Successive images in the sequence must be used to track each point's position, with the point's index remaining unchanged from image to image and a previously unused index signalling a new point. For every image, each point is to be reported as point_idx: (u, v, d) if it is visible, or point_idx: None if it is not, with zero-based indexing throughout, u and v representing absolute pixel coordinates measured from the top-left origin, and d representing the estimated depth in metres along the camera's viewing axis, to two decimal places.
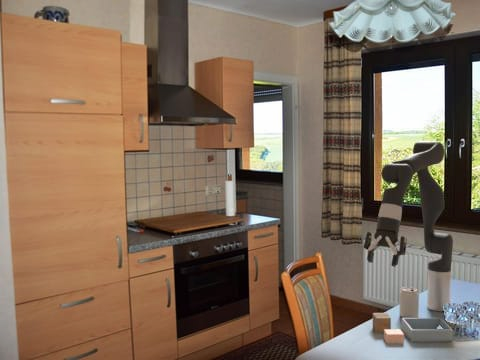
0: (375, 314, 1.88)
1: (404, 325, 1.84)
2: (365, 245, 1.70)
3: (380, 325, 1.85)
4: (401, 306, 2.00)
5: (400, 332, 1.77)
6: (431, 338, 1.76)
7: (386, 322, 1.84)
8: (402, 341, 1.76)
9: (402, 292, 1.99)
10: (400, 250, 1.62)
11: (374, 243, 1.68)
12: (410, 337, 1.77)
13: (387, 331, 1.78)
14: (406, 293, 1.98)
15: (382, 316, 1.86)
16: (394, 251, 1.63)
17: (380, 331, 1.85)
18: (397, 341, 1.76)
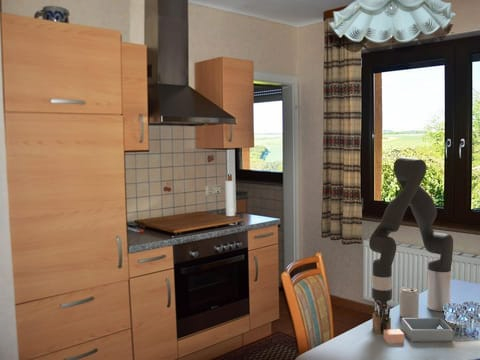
0: (375, 314, 1.88)
1: (404, 325, 1.84)
2: None
3: (380, 325, 1.85)
4: (401, 306, 2.00)
5: (400, 332, 1.77)
6: (431, 338, 1.76)
7: None
8: (402, 341, 1.76)
9: (402, 292, 1.99)
10: (381, 320, 1.82)
11: (375, 309, 1.89)
12: (410, 337, 1.77)
13: (387, 331, 1.78)
14: (406, 293, 1.98)
15: None
16: (380, 319, 1.84)
17: (380, 331, 1.85)
18: (398, 341, 1.76)
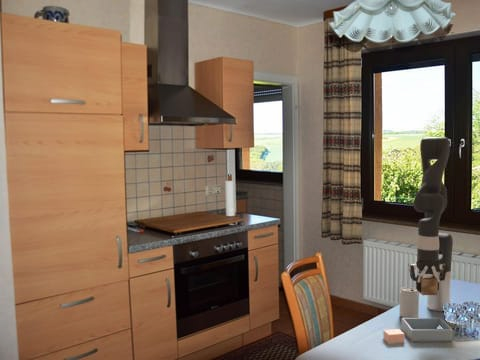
0: (426, 278, 1.78)
1: (404, 325, 1.84)
2: (414, 278, 1.79)
3: None
4: (401, 306, 2.00)
5: (400, 332, 1.77)
6: (431, 338, 1.76)
7: None
8: (403, 340, 1.76)
9: (402, 292, 1.99)
10: (442, 277, 1.79)
11: (422, 274, 1.78)
12: (410, 337, 1.77)
13: (387, 331, 1.78)
14: (406, 293, 1.98)
15: (429, 277, 1.80)
16: None
17: None
18: (398, 341, 1.76)
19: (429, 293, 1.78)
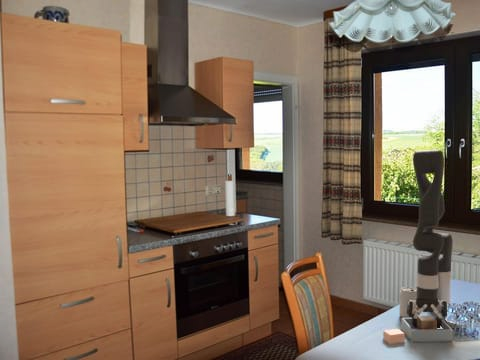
0: (425, 320, 1.80)
1: (404, 325, 1.84)
2: (410, 314, 1.80)
3: None
4: (401, 306, 2.00)
5: (400, 332, 1.77)
6: (431, 338, 1.76)
7: None
8: (403, 340, 1.76)
9: (402, 292, 1.99)
10: (445, 314, 1.80)
11: (420, 311, 1.80)
12: (410, 337, 1.77)
13: (388, 332, 1.78)
14: (406, 293, 1.98)
15: (428, 318, 1.82)
16: (439, 315, 1.80)
17: None
18: (398, 341, 1.76)
19: None
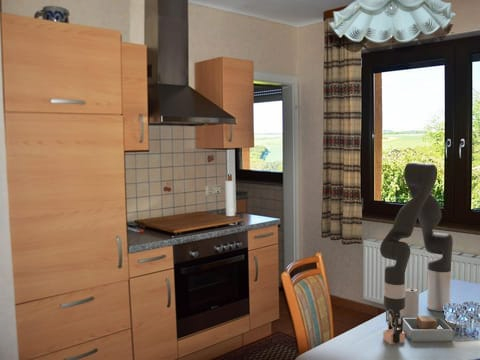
0: (425, 320, 1.80)
1: (404, 325, 1.84)
2: (386, 319, 1.83)
3: None
4: None
5: None
6: (431, 338, 1.76)
7: None
8: (403, 339, 1.77)
9: None
10: (394, 330, 1.72)
11: (387, 318, 1.80)
12: (410, 337, 1.77)
13: (388, 331, 1.77)
14: (406, 293, 1.98)
15: (428, 318, 1.82)
16: (393, 329, 1.74)
17: None
18: None
19: None
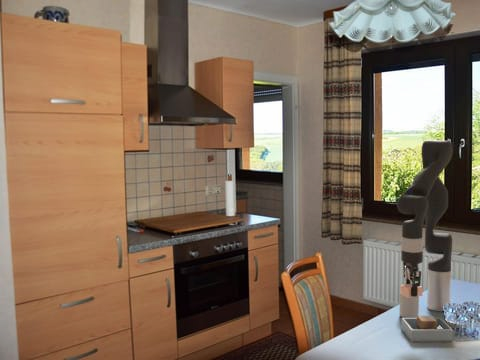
0: (425, 320, 1.80)
1: (404, 325, 1.84)
2: (404, 274, 1.84)
3: None
4: (401, 306, 2.00)
5: None
6: (431, 338, 1.76)
7: None
8: (421, 293, 1.78)
9: None
10: (412, 283, 1.74)
11: (405, 273, 1.81)
12: (410, 337, 1.77)
13: (405, 286, 1.79)
14: None
15: (428, 318, 1.82)
16: (410, 283, 1.76)
17: None
18: None
19: None
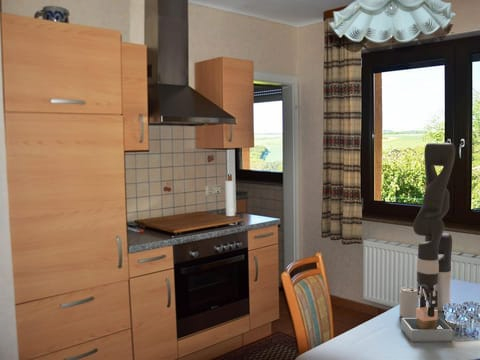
0: None
1: (404, 325, 1.84)
2: (417, 292, 1.87)
3: None
4: (401, 306, 2.00)
5: None
6: (431, 338, 1.76)
7: None
8: (436, 317, 1.80)
9: (402, 292, 1.99)
10: (429, 303, 1.75)
11: (419, 292, 1.84)
12: (410, 337, 1.77)
13: (421, 309, 1.81)
14: (406, 293, 1.98)
15: None
16: (427, 303, 1.77)
17: None
18: (432, 318, 1.79)
19: None
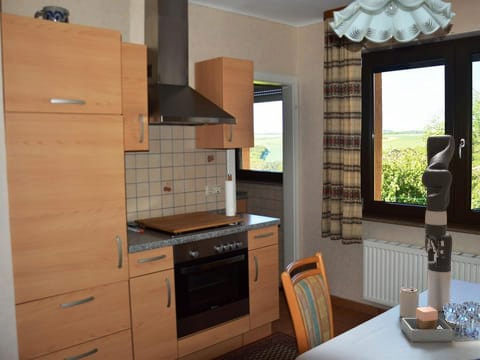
0: None
1: (404, 325, 1.84)
2: (425, 246, 1.91)
3: None
4: (401, 306, 2.00)
5: (433, 309, 1.81)
6: (431, 338, 1.76)
7: None
8: (436, 317, 1.80)
9: (402, 292, 1.99)
10: (438, 253, 1.78)
11: (427, 245, 1.87)
12: (410, 337, 1.77)
13: (421, 309, 1.81)
14: (406, 293, 1.98)
15: None
16: (436, 254, 1.80)
17: None
18: (432, 318, 1.79)
19: None
